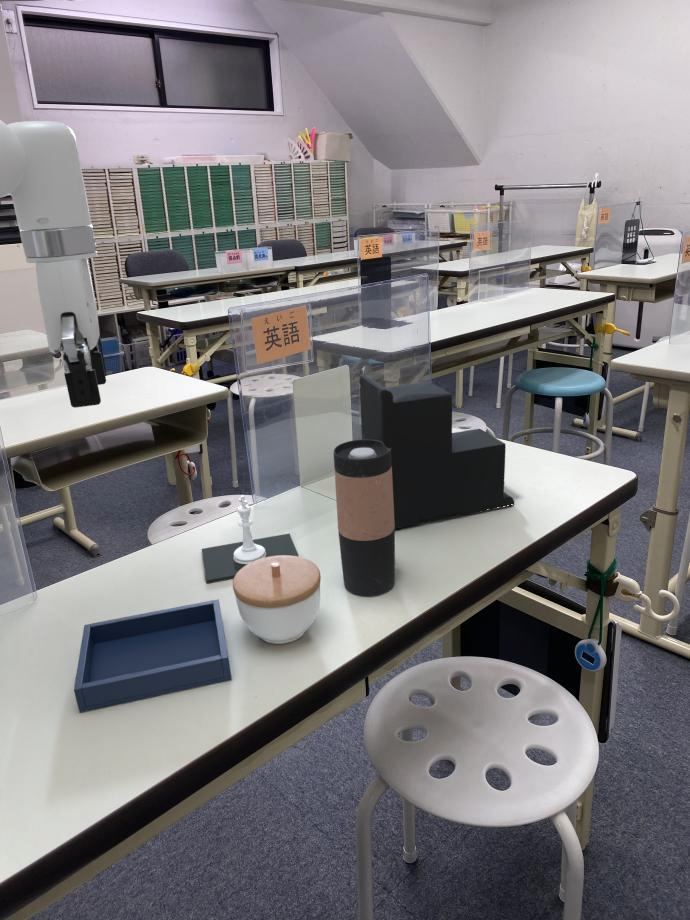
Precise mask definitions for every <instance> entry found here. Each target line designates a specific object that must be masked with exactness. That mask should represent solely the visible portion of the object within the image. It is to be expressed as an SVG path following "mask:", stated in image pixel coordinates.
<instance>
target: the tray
mask: <svg viewBox="0 0 690 920" xmlns="http://www.w3.org/2000/svg"><path fill="white" fill-rule="evenodd" d="M223 622H224V621H223V616H222V610H221V604H220V599H219V598H216V599H212V600H205V601H202V602H201V601H200V602H196V603H191V604H186V605H181V606H175V607H171V608H164V609H159V610H155V611H148V612H144V613H139V614H134V615H128V616H123V617H118V618H113V619H106V620H102V621H96V622H92V623H88V624H84V625H83V632H82V637H81V643H80V649H79V657H78V663H77V668H76V675H75V679H74V687H73V693H74V696H75V700H76V704H77V708H78V712H79V713H80V714H81V713H84V712H85V713H86V712H89V711H90V712H91V711H93V710H98V709H103V708H107V707H112V706H117V705H121V704H126V703H130V702H135V701H139V700H144V699H150V698H154V697H158V696H159V697H160V696H162V695H168V694H171V693H177V692H182V691H186V690H190V689H194V688H195V689H196V688H199V687H204V686H208V685H213V684H218V683H223V682H227V681H231V680H232V679H233V678H232V671H231V665H230V659H229V651H228V646H227V641H226V635H225V629H224V623H223Z"/></svg>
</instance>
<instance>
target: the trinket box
mask: <svg viewBox="0 0 690 920" xmlns="http://www.w3.org/2000/svg"><path fill="white" fill-rule="evenodd" d="M321 579H322V577H321V571H320V569H319V567H318V566H317V565H316V564H315V562H312V560H309V559H308V558H305V557H302V556H299V557H298V556H291V555H278V556H270V557H266V558H262V559H259V560H256V561H253V562H251V563H249V564H247V565H246V566H244V567H243V568H242V569H240V570H239V571H238V572H237V574H236V575H235V577H234V578H233V579H232V589H233V593H234V597H235V603H236V607H237V610H238V613H239V616H240V618H241V620H242V622H243V624H244V625H245V627H246V628H247V629H248V630H249V631H250V632H251V633H253V634H254V635H255V636H257V637H258V638H260V639H261V640H262V641H264V642H266V643H269V644H274V645H284V644H289V643H293V642H295V641H297V640H298V639H300V638H301V637H303V635H304V634H305V633H306V631H308V630H309V628H310V627H311V626H312V624H313V623H314V622H315V620H316V619H317V616H318V613H319V610H320V605H321V594H322V591H321Z"/></svg>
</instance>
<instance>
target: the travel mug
mask: <svg viewBox="0 0 690 920" xmlns="http://www.w3.org/2000/svg"><path fill="white" fill-rule="evenodd" d="M333 467H334V468H333V469H334V485H335V499H336V500H335V501H336V517H337V518H336V519H337V531H338V542H339V551H340V560H341V561H340V562H341V569H342V579H343V585H344V587H345V589H346V591H348V592H349V593H350V594H353V595H355V596H360V597H377V596H382V595H383V594H386V593H388V592H390V590H392V588H393V587H394V586H395V583H396V581H395V580H396V529H395V523H394V502H393V482H392V461H391V448H390V449H388V448H387V447H386V446H385V445H384V444H383V442H381V441H378V440H369V439H363V440H362V439H354V440H348V441H346V442H343V443H340V444H337V446H335V447H334V449H333Z"/></svg>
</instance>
